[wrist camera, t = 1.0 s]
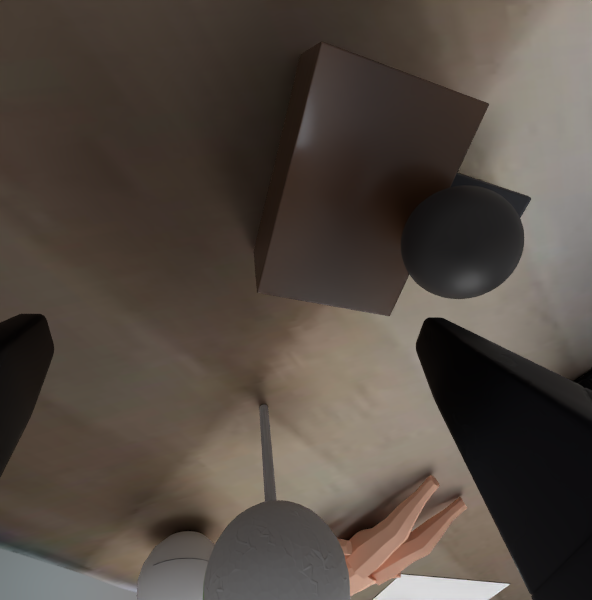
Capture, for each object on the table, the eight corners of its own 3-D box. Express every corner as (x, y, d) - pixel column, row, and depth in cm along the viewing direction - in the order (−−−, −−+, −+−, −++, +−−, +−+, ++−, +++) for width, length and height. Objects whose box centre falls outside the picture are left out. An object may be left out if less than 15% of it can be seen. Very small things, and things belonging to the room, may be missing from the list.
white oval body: (197, 561, 37) (189, 656, 31) (132, 544, 34) (107, 646, 28) (258, 513, 35) (262, 607, 28) (192, 490, 31) (181, 589, 25)
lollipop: (203, 385, 26) (166, 683, 13) (299, 361, 26) (359, 633, 13) (232, 447, 29) (226, 726, 16) (316, 426, 29) (376, 686, 17)
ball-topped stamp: (500, 185, 21) (662, 245, 13) (463, 254, 23) (583, 343, 15) (372, 146, 19) (468, 187, 11) (345, 224, 21) (408, 309, 13)
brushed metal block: (431, 100, 18) (490, 103, 14) (361, 274, 23) (389, 316, 18) (300, 53, 16) (321, 40, 12) (253, 251, 21) (256, 293, 17)
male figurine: (491, 535, 36) (310, 657, 40) (461, 490, 40) (301, 604, 45) (439, 498, 31) (240, 641, 36) (411, 451, 35) (237, 584, 40)
